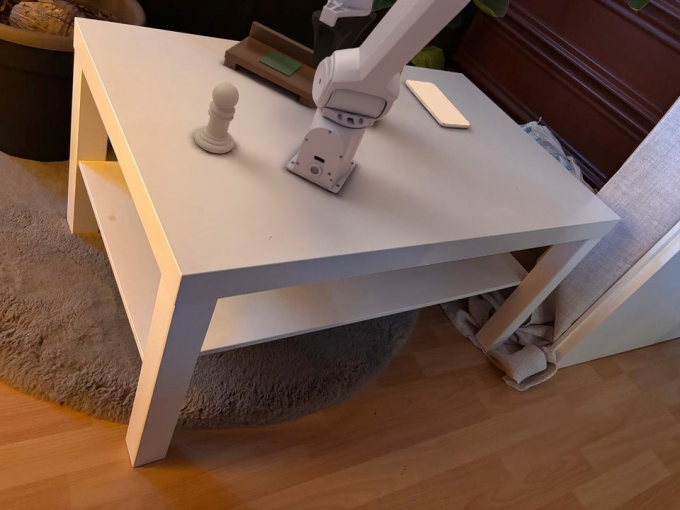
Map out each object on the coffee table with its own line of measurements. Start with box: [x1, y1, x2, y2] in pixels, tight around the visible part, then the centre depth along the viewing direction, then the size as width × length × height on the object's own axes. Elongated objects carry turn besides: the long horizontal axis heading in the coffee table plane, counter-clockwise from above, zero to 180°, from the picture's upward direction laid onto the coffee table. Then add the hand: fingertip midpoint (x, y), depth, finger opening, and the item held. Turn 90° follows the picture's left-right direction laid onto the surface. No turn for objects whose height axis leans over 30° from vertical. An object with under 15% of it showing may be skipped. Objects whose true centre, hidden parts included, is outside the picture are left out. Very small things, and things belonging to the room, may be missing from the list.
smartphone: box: [405, 79, 471, 129], centre depth 109 cm, size 7×1×15 cm
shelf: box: [223, 20, 318, 108], centre depth 94 cm, size 10×16×5 cm, turn 71°
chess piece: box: [193, 82, 240, 154], centre depth 73 cm, size 5×5×9 cm
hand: (330, 59), depth 84 cm, fingers open, 7 cm apart
